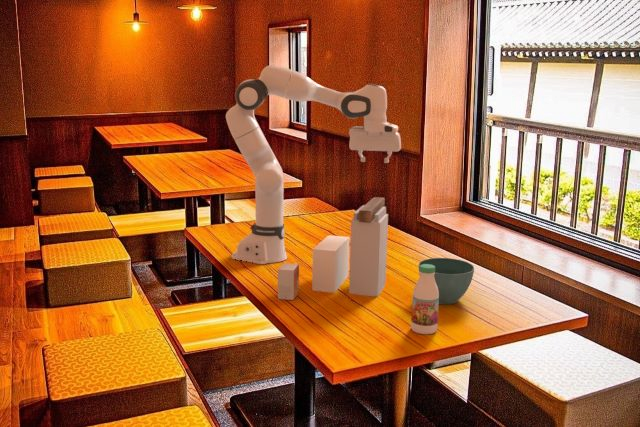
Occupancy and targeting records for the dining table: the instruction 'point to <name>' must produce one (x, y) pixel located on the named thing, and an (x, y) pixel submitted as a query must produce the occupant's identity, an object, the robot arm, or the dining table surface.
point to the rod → (371, 209)
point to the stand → (368, 254)
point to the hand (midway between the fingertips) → (374, 162)
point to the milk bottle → (425, 302)
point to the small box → (288, 281)
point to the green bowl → (451, 278)
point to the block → (330, 263)
